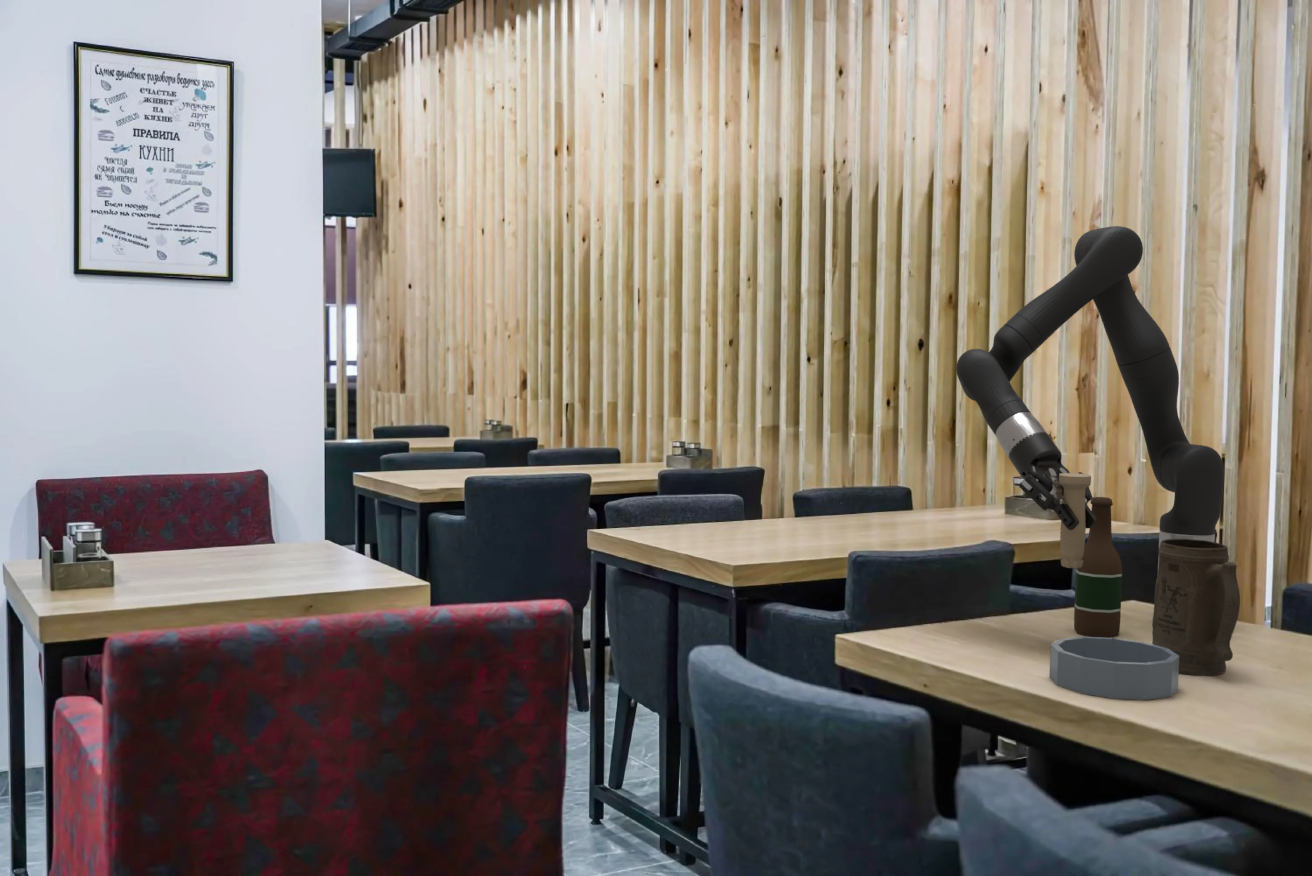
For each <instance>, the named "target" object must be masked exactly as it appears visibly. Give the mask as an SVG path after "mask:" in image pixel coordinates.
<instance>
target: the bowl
mask: <svg viewBox="0 0 1312 876" xmlns="http://www.w3.org/2000/svg"><path fill="white" fill-rule="evenodd" d="M1179 675H1180V673H1179V655H1177V654H1176V653H1174V652H1173V651H1171V650H1170V649H1168V648H1164V647H1160V646H1157V645H1153V643H1150V642H1149V643H1148V642H1145V641H1139V640H1138V641H1137V640H1132V639H1124V638H1116V637H1111V638H1105V637H1089V636H1078V637H1066V638H1059V639H1058V640H1056V641H1054V642H1053V643H1050V656H1049V679H1051V680H1052V681H1053V683H1054V684H1055V685H1057V686H1058V687H1062V688H1064V689H1068V690H1070V691H1073V692H1076V693H1080V694H1082V695H1083V694H1084V695H1088V696H1090V695H1091V696H1094V697H1095V696H1097V697H1101V698H1106V699H1107V698H1108V699H1114V700H1115V699H1116V700H1135V701H1136V700H1138V701H1142V700H1143V701H1150V700H1158V699H1164V698H1171V697H1173V696H1174V694H1176V693H1177V692H1178V691H1179Z"/></svg>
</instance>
